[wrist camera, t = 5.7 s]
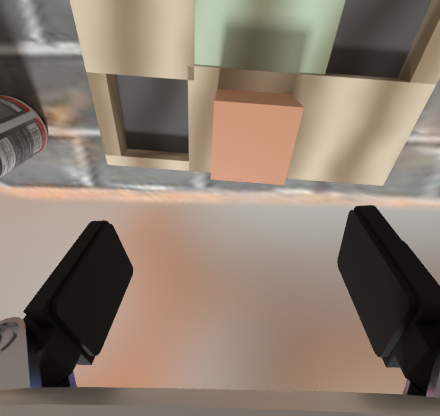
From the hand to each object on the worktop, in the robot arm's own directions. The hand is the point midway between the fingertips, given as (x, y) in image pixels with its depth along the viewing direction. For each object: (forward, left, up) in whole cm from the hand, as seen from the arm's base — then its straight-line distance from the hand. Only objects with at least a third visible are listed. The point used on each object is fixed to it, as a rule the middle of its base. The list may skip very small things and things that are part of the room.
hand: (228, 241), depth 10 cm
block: (-2, 0, -14) cm, 14 cm away
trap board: (-2, -4, -16) cm, 17 cm away
